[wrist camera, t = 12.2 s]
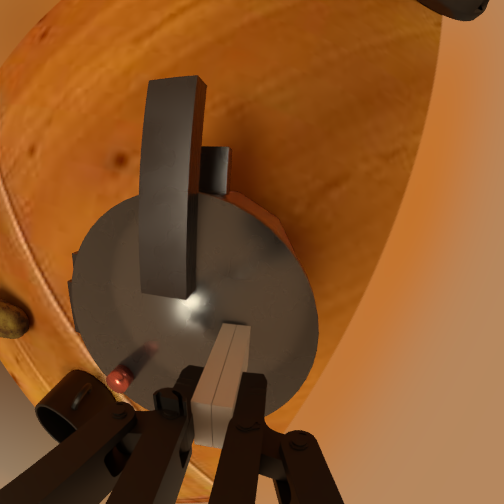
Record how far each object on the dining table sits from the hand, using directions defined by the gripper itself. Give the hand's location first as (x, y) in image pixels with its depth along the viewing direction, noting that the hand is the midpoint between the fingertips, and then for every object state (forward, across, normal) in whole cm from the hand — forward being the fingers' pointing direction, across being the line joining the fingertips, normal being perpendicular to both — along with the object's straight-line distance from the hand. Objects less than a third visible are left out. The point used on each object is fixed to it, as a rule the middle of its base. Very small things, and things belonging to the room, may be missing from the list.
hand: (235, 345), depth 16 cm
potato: (+12, -38, -10) cm, 41 cm away
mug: (+12, -22, -20) cm, 32 cm away
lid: (+1, -4, +3) cm, 5 cm away
